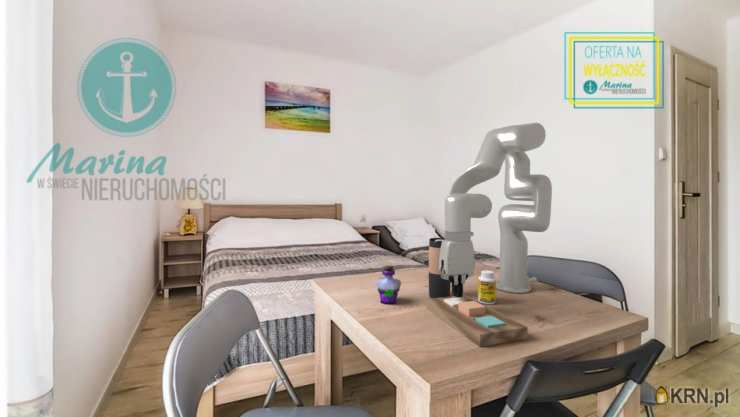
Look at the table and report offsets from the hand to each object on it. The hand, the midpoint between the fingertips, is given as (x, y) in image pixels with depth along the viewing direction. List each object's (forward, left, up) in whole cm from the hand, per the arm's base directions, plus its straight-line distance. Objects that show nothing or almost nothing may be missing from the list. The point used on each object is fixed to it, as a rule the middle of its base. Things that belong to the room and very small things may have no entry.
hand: (457, 296), depth 104 cm
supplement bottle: (-14, -5, -5) cm, 16 cm away
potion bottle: (+17, -15, -5) cm, 23 cm away
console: (+1, +8, -5) cm, 10 cm away
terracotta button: (+1, +8, -3) cm, 9 cm away
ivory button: (+1, 0, -4) cm, 4 cm away
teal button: (+1, +16, -4) cm, 17 cm away
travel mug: (-2, -15, -5) cm, 16 cm away
